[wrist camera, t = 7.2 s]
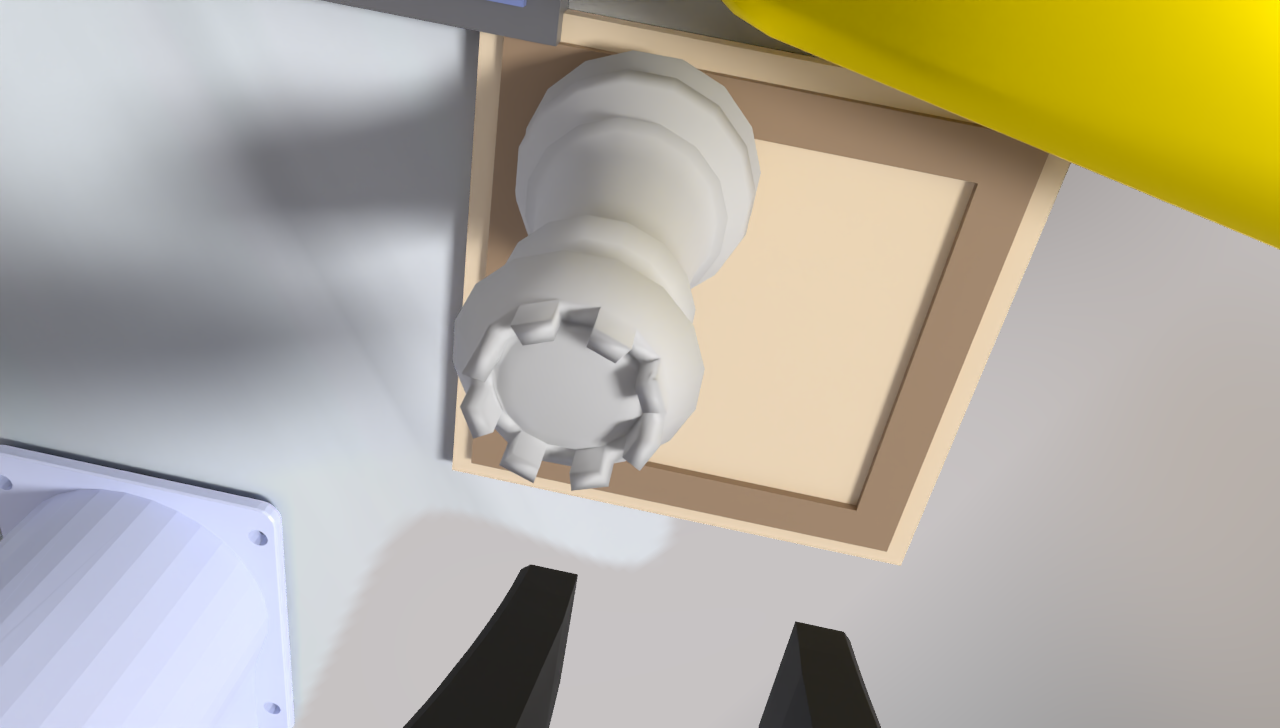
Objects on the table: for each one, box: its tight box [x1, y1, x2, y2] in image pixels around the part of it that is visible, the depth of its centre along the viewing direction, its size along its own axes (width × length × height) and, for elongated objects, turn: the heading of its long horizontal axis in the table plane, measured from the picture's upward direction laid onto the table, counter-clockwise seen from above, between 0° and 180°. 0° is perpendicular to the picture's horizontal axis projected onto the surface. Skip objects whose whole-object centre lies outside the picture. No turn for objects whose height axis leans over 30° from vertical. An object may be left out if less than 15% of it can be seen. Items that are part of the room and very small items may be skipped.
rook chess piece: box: [453, 50, 761, 491], centre depth 15 cm, size 4×4×8 cm
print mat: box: [452, 9, 1071, 566], centre depth 20 cm, size 11×11×1 cm
